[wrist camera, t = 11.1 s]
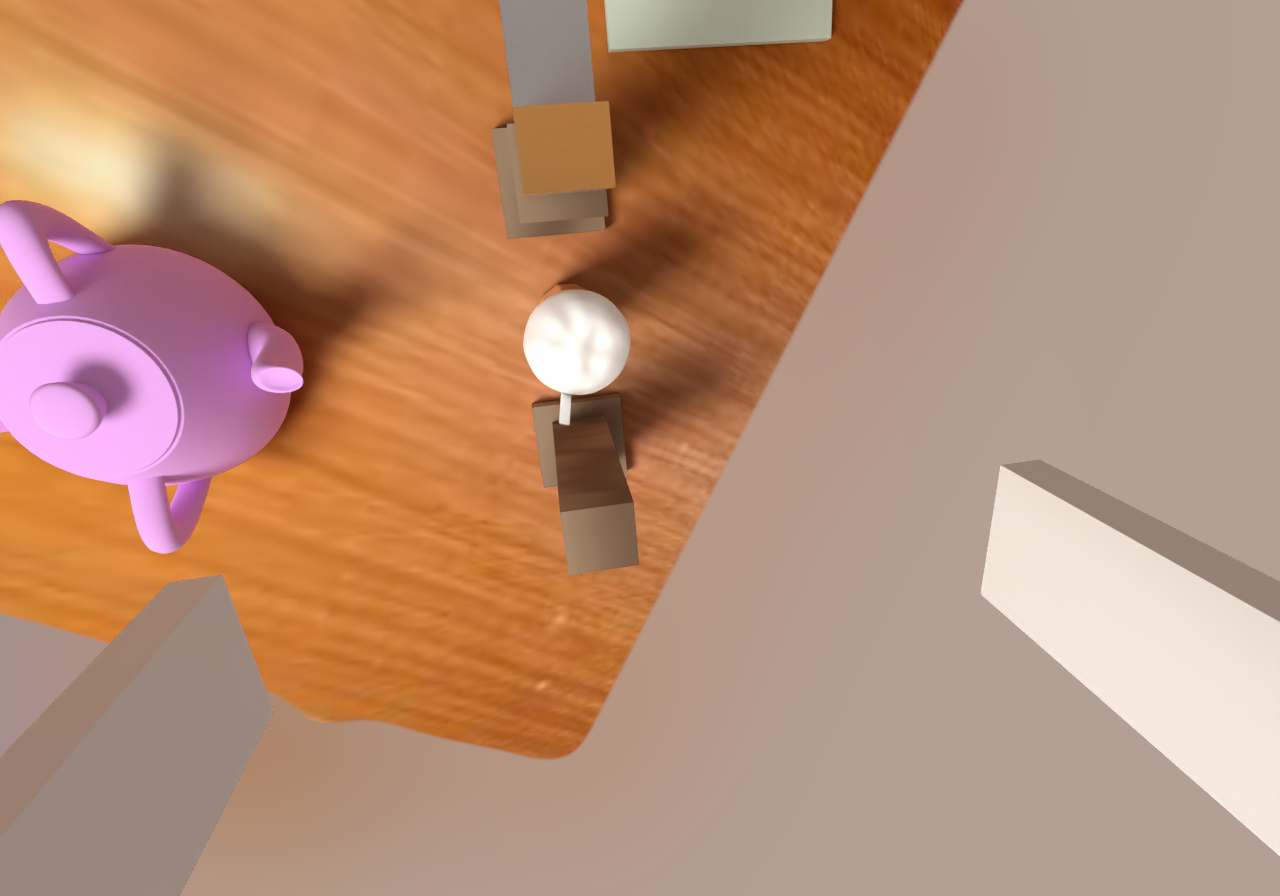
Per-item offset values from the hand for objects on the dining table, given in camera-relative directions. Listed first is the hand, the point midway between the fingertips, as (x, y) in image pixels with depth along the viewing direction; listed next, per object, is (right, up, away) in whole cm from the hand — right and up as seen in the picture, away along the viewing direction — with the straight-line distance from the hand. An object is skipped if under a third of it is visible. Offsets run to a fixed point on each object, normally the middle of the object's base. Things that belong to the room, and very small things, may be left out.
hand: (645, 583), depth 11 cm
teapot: (-24, +7, +21) cm, 33 cm away
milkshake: (-4, +9, +24) cm, 26 cm away
